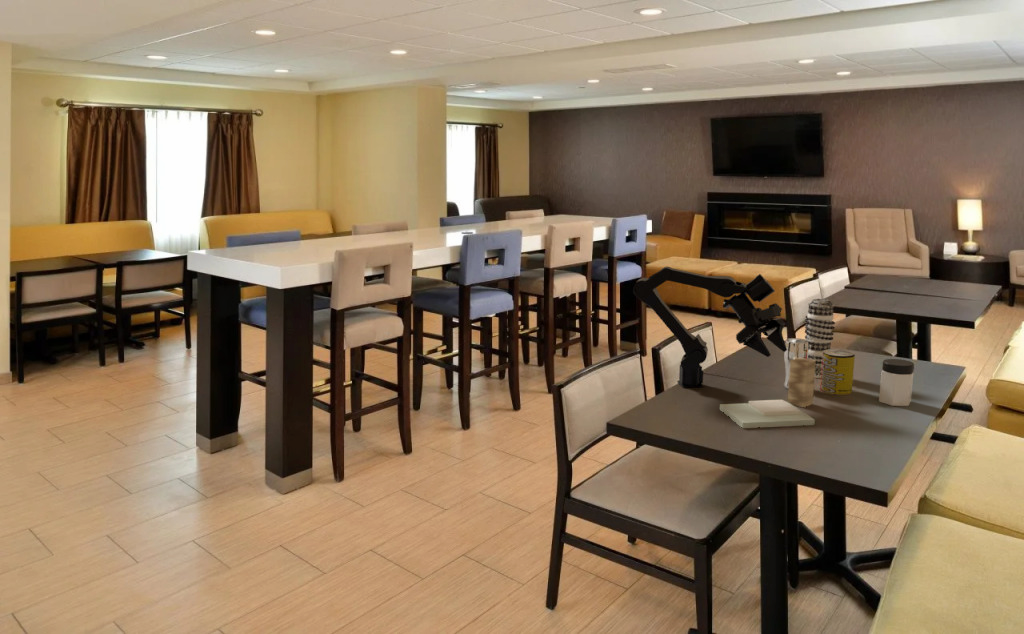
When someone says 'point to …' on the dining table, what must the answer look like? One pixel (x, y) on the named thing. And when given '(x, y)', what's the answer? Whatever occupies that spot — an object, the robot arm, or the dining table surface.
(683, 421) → the dining table surface
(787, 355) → the beer glass
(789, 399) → the pillar block
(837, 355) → the beverage can
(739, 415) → the board
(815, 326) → the decorative candle
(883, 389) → the jar
